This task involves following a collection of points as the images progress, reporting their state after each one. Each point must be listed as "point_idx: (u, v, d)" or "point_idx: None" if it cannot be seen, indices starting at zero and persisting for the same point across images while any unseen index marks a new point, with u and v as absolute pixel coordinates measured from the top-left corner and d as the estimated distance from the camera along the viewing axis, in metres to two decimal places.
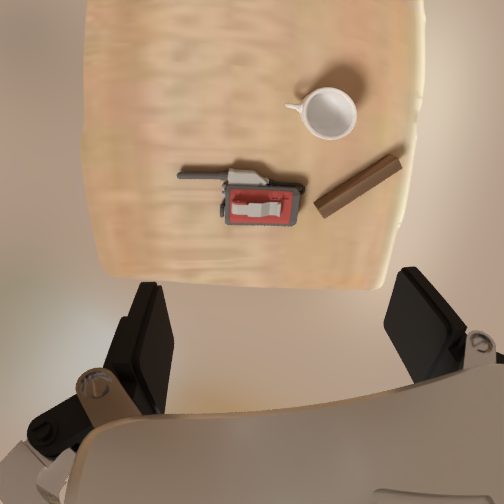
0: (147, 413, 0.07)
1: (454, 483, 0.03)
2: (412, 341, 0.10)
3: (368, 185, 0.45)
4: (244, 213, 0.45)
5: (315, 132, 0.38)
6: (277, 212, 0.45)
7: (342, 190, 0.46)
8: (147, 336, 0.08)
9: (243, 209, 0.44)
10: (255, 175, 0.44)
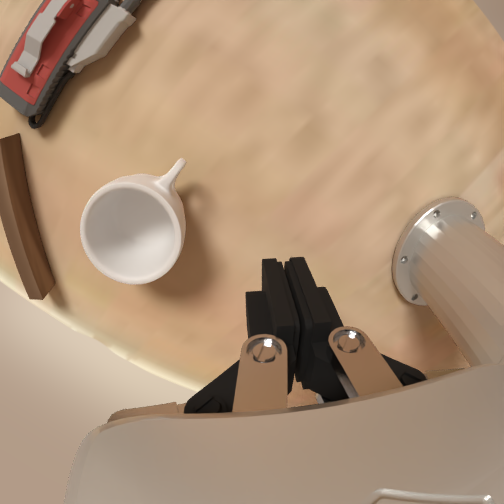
0: None
1: (454, 483, 0.03)
2: None
3: (11, 237, 0.21)
4: (47, 8, 0.12)
5: (104, 191, 0.18)
6: (17, 65, 0.14)
7: (14, 191, 0.20)
8: None
9: (53, 8, 0.12)
10: (91, 52, 0.16)
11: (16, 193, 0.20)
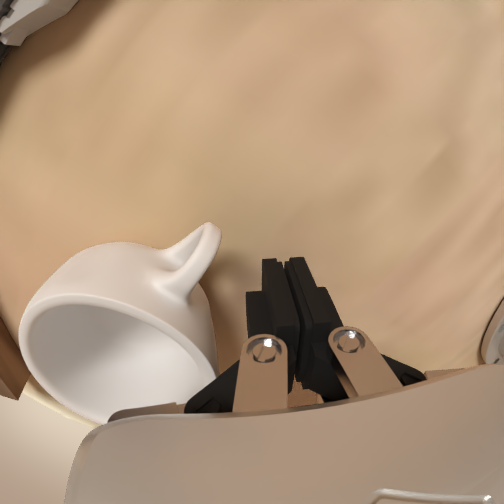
0: None
1: (454, 483, 0.03)
2: None
3: None
4: None
5: (45, 306, 0.07)
6: None
7: None
8: None
9: None
10: (38, 3, 0.05)
11: None
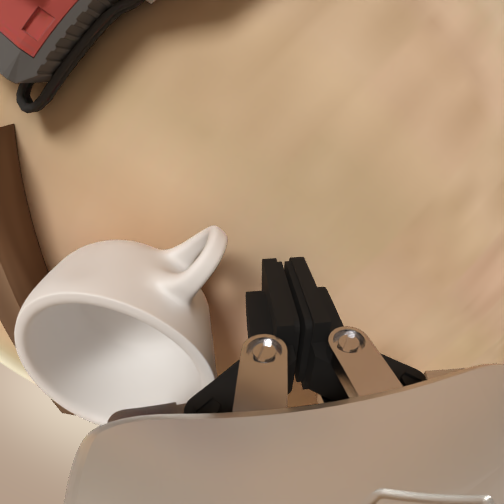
0: None
1: (454, 483, 0.03)
2: None
3: None
4: None
5: (44, 303, 0.07)
6: None
7: (10, 249, 0.09)
8: None
9: None
10: None
11: (14, 252, 0.10)
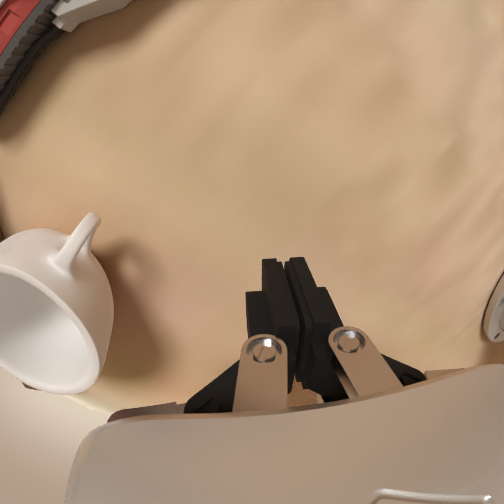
0: None
1: (454, 483, 0.03)
2: None
3: None
4: None
5: None
6: None
7: None
8: None
9: None
10: None
11: None
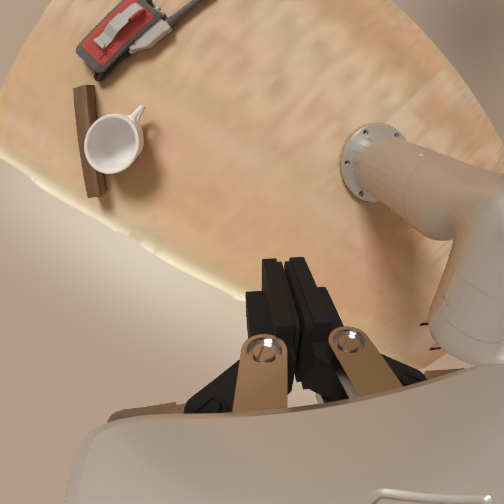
0: None
1: (454, 483, 0.03)
2: None
3: None
4: (124, 11, 0.25)
5: (101, 119, 0.31)
6: (98, 40, 0.27)
7: (91, 119, 0.33)
8: None
9: (128, 13, 0.26)
10: (145, 45, 0.30)
11: (91, 121, 0.34)
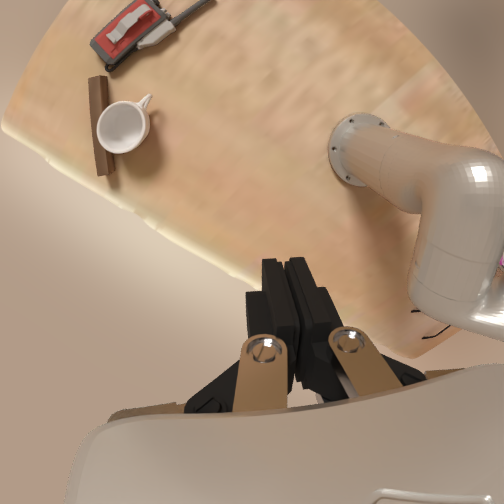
0: None
1: (454, 483, 0.03)
2: None
3: (96, 133, 0.39)
4: (134, 11, 0.29)
5: (112, 105, 0.35)
6: (110, 35, 0.31)
7: (103, 106, 0.37)
8: None
9: (138, 13, 0.30)
10: (151, 41, 0.34)
11: (104, 107, 0.38)
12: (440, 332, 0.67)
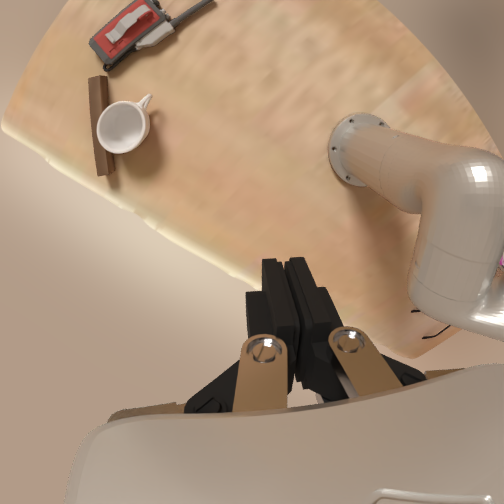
0: None
1: (454, 483, 0.03)
2: None
3: (96, 133, 0.39)
4: (134, 12, 0.29)
5: (112, 105, 0.35)
6: (109, 35, 0.31)
7: (103, 106, 0.37)
8: None
9: (137, 13, 0.30)
10: (149, 42, 0.34)
11: (104, 107, 0.38)
12: (440, 332, 0.67)
